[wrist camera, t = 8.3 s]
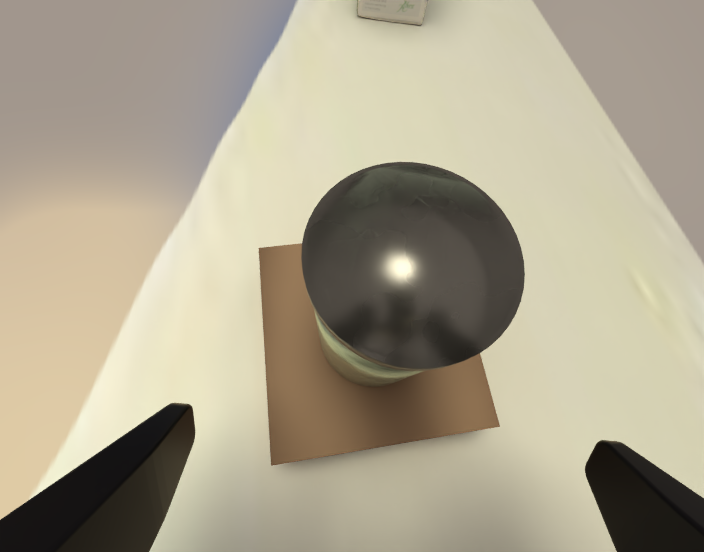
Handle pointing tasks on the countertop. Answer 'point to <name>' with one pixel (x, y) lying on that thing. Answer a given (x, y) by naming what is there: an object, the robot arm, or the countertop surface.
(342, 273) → the spice tin
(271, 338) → the walnut block
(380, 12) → the syrup box
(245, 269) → the countertop surface
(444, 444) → the countertop surface
